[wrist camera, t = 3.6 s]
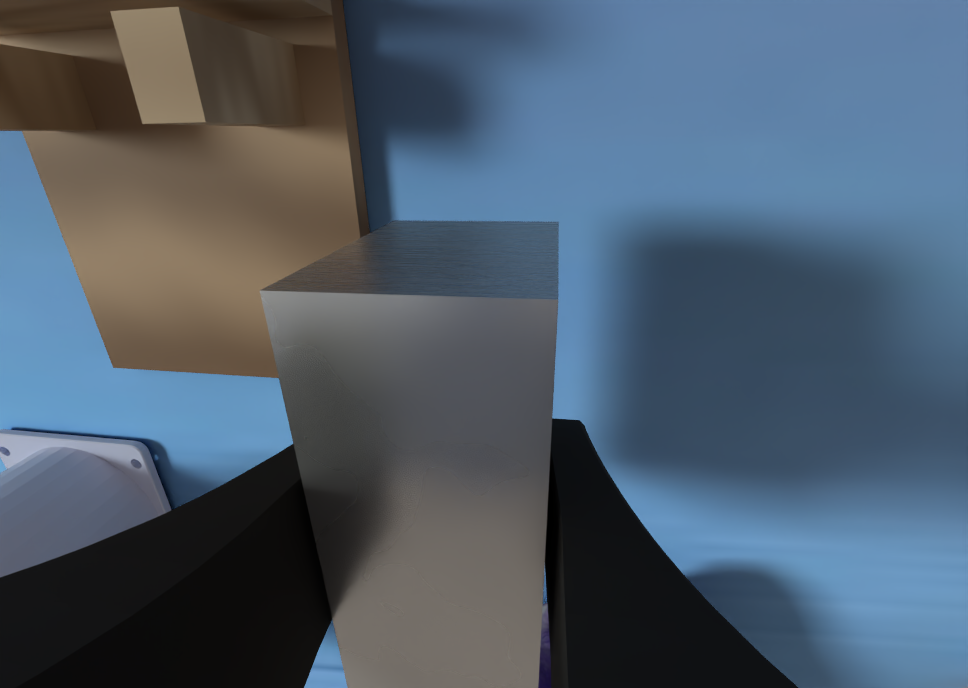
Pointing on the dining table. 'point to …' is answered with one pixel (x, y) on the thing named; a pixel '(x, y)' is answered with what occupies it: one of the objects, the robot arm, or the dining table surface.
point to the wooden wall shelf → (187, 161)
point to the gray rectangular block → (426, 444)
